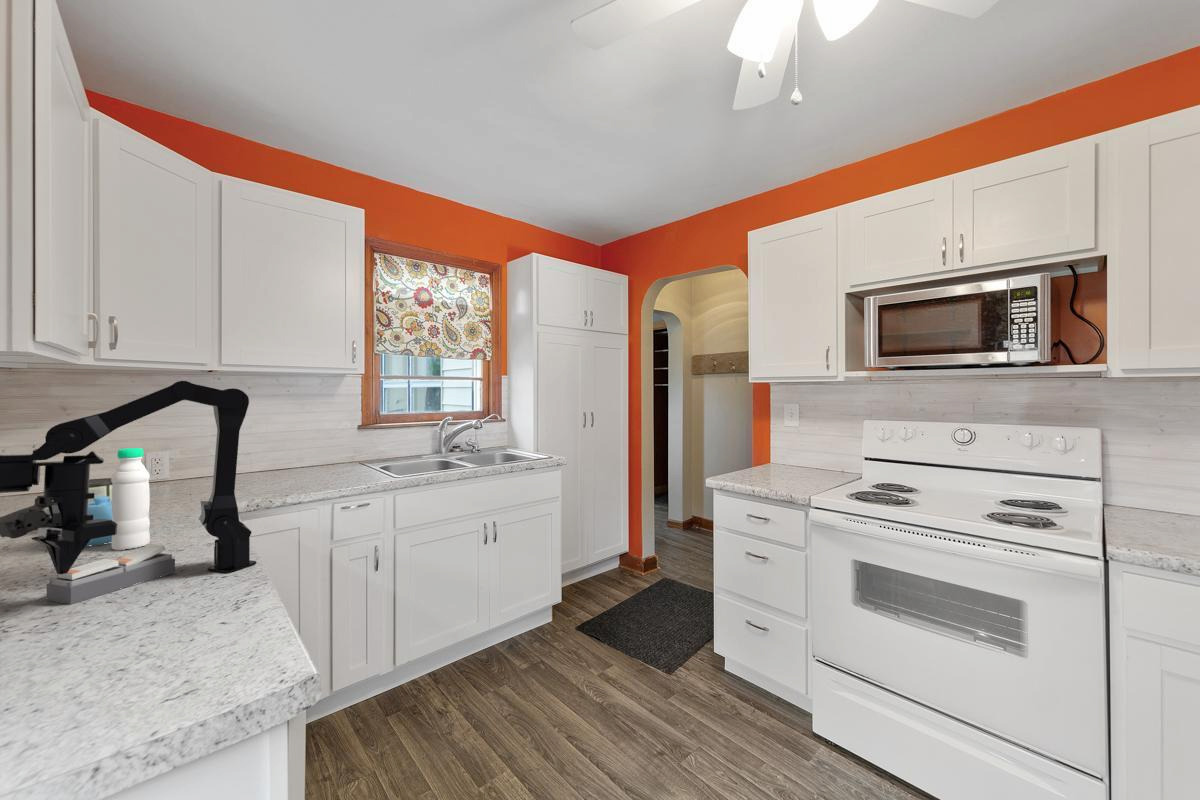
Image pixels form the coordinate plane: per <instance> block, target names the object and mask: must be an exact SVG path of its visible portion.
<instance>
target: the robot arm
mask: <svg viewBox="0 0 1200 800" xmlns="http://www.w3.org/2000/svg"><path fill="white" fill-rule="evenodd" d="M249 399H250V398H249V396H248V394H246V392H245V391H243V390H241V389H240V388H239V389H238V388H225V389H219V388H214V387H209V386H205V385H200V384H197V383H192V382H190V381H187V380H179V381H175V382H174V383H172V384H171V385H169V386H166V387H164V388H161V389H158V390H156V391H154V392H152V393H149V394H147V395H144V396H142V397H139V398H136V399H134V400H131V401H129V402H126V403H125V404H121V405H119V406H116V407H114V408H112V409H109V410H106V411H103V412H100V413H96V414H91V415H88V416H87V415H86V416H83V417H79V418H75V419H73V420H68V421H64V422H61V423H58V424H55V425H54V426H52V427H50V428H49V430H47V432H46V435H45V437H44V438H45V442H44V443H43V444H42V445H41V446H40V447H38V448H35V449H34V450H32V453H31V454H29V453H28V454H0V494H4V493H5V494H6V493H20V492H23V493H24V492H25V493H26V492H29V491H30V489H31V488H33V486H39V484H40V481H41V480H40V479H41V467H44V481H43V495H37V497H35V498H34V504H33V505H31V506H28V507H24V508H21V509H19V510H15V511H13V512H11V513H8V514H6V515H2V516H0V537H1V538H5V537H6V538H10V539H18V538H21V537H24V536H26V535H27V534H28V533H31V532H33V531H37V536H33V537H31V538H30V539H31V540H32V541H34V542H37V543H40V544H41V545H43V546H45V548H46V550H47V552H48V554H49V557H50V560H51V561H52V564H53V567H54V569H55V571H56V574H57V575H58V574H65V573H67V572H68V571H69V570H70V569H71V568H73V565H74V563H75V562H76V561H77V559H78V557H79V556H80V555H81V553H82V552H83V550H84V549H85V548H86V547H85V546H86V545H87V544H88V542H89V541H90V540H91V539H95V538H100V537H106V536H111V535H116V534H117V523H115V522H114V521H112V520H106V519H95V520H93V515H92V514H87V513H88V499H93V498H94V493H89V479H90V476H91V475H90V471H91V465H100V464H104V461H105V460H104V458H102V457H100V456H99V455H98V454H97V453H96V452H95V451H94V450H91V451H90V452H89V453H87V454H85V455H84V454H83V455H80V454H79V455H69V454H74V453H79V452H80V451H82V450H84V449H86V448H88V447H89V446H91V445H92V444H95V443H96V442H97V441H99V440H101V439H102V438H104V437H105V436H107V435H109V434H110V433H112V432H114V431H115V430H117V429H118V428H121V427H123V426H126V425H127V424H131V423H133V422H134V421H137V420H139V419H142V418H143V417H147V416H148V415H151V414H154V413H156V412H159V411H160V410H163V409H166V408H167V407H170V406H173V405H175V404H178V403H179V402H182V401H188V402H193V403H197V404H201V405H202V404H203V405H206V406H211V407H212V408H213V416H214V419H215V424H216V430H217V431H216V440H215V441H216V443H215V454H214V466H213V478H212V479H213V480H212V490H211V494H210V497H209V498H208V500H206V501H205V500H201V501H200V511H201V512H200V515H199V517H198V520H199V522H200V523H201V525H202V526H203V527H204V529H205V530H206V532H207V533H208V534H209V535H211V536H212V537H214V538H215V537H216V539H214V547H213V564H214V565H212V566H208V567H207V571H212V572H219V573H227V574H228V573H232V572H235V571H238V570H241V569H244V568H247V567H250V566H253V565H255V564H257V561H256V560H250V557H251V556H250V553H251V551H250V548H251V547H250V546H251V545H250V542H251V541H250V537H251V535H252V530H250V528H249V527H248V526H247V525H245V523H243V522H241V521H240V516H239V509H238V504H237V500H236V499H237V498H236V495H235V493H236V491H235V489H236V488H235V487H236V480H237V479H236V478H237V477H236V475H237V464H238V455H239V454H238V453H239V452H238V451H239V439H240V431H241V427H242V425H243V423H244V420H245V418H246V415H247V411H248V409H249V405H250V400H249ZM61 454H65V455H64V456H63V460H58V461H47V460H49V459H51V458H53V457H55V456H58V455H61ZM67 454H68V455H67Z"/></svg>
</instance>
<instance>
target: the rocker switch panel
mask: <svg viewBox="0 0 1200 800" xmlns="http://www.w3.org/2000/svg"><path fill="white" fill-rule="evenodd" d="M174 572H175V573H176V558H173V554H170V553H163V552H160V553H158V554H156V555H154V556H152V557H150V558H148V559H145V560H143V561H141V562H139V563H137V564H133V565H129V566H125V567H122V566H115V567H112V568H109V569H105V570H102V571H99V572H96V573H93V574H90V575H86V576H83V577H80V578H77V579H74V580H70V579H64V578H58V576H57V577H55V578H54V577H53V578H51V579H50V580H49V583H47V584H46V601H50V602H51V601H52V602H56V603H62V604H66V605H73V604H77V603H81V602H83V601H84V602H85V601H86V600H90V598H91V599H94V598H97V597H100V596H103V595H102V594H104V595H106V593H107V594H110V593H113V592H112V591H114V592H116V591H115V590H117V589H120V588H123V587H127V586H130V585H133V584H136V583H139V582H143V581H146V582H148V581H147V580H150V581H152V580H151V579H153V580H155V579H154V578H156V579H158V578H157V577H159V578H161V577H160V576H163V577H165V576H164V575H166V576H168V575H167V574H169V575H172V574H171V573H173V574H175V573H174ZM143 583H144V582H143ZM136 585H137V584H136ZM133 586H134V585H133ZM130 587H131V586H130ZM127 588H128V587H127ZM123 589H124V588H123ZM120 590H121V589H120ZM117 591H118V590H117ZM109 592H110V593H109ZM99 595H100V596H99ZM96 596H97V597H96ZM93 597H94V598H93Z"/></svg>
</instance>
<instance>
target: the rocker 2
mask: <svg viewBox="0 0 1200 800" xmlns="http://www.w3.org/2000/svg"><path fill="white" fill-rule="evenodd" d="M164 551H166V547H165V545H162V544H153V543H152V544H150V543H149V544H148V545H146V546H144V547H141V548H139V549H138V550H135V551H133V552H131V553H129V554H127V555H125V556H122V557H120V558H118V559H116V560H118V564H119V565H118V566H122V567H125V566H129V565H133V564H137V563H139V562H141V561H143V560H145V559H148V558H150V557H152V556H154V555H156V554H158V553H163V552H164Z"/></svg>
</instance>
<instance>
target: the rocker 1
mask: <svg viewBox="0 0 1200 800" xmlns="http://www.w3.org/2000/svg"><path fill="white" fill-rule="evenodd" d="M118 565H119V564H118V560H117V559H111V558H102V559H98V560H96V561H92V562H89V563H86V564H81V565H79V566H75V567H71V568H70V570H69V571H68V572H67V573H65V574H57V577H58V578H64V579H70V580H74V579H77V578H80V577H83V576H86V575H90V574H93V573H96V572H99V571H102V570H105V569H109V568H112V567H115V566H118Z"/></svg>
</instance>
